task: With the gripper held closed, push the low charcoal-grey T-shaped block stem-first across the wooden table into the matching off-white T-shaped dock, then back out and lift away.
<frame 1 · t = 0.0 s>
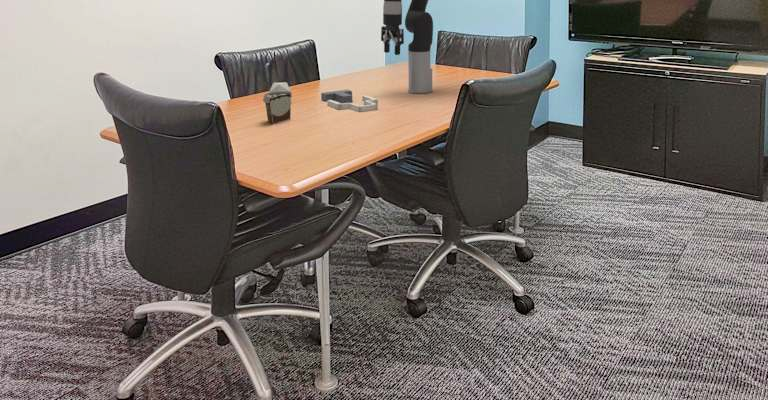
hand: (391, 53, 309), 17 cm above the table, tool pointing down, fingers open, 8 cm apart
t dock: (353, 105, 297), on the table
t block: (336, 99, 309), on the table
grey rounded block: (281, 103, 304), on the table
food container: (275, 121, 274), on the table
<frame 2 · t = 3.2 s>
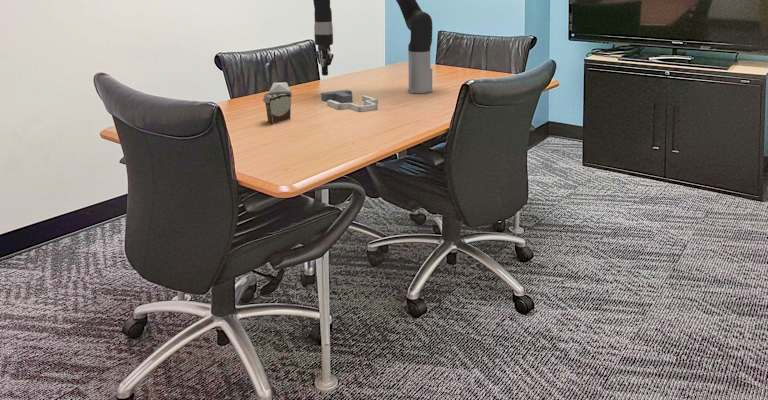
hand: (324, 75, 315), 8 cm above the table, tool pointing down, fingers closed
nothing on the table moved.
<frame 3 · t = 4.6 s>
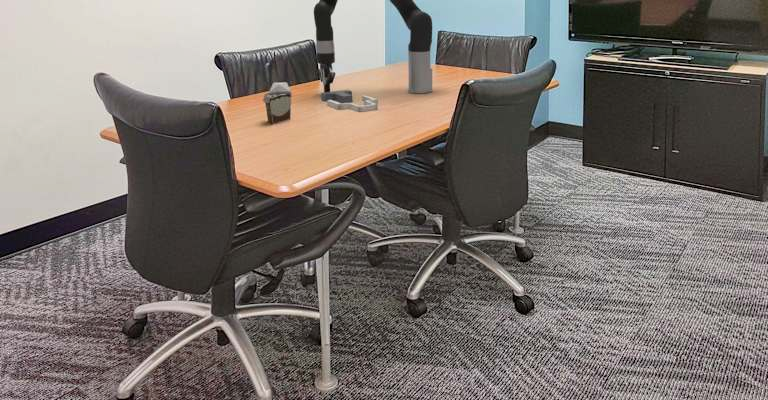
hand: (327, 93, 317), 1 cm above the table, tool pointing down, fingers closed
nothing on the table moved.
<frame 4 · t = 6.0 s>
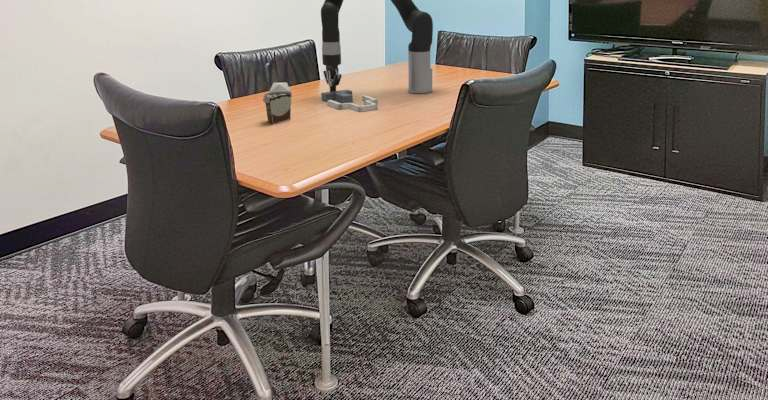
hand: (333, 95, 312), 1 cm above the table, tool pointing down, fingers closed
t block: (337, 99, 309), on the table, touching gripper
everything else where it was.
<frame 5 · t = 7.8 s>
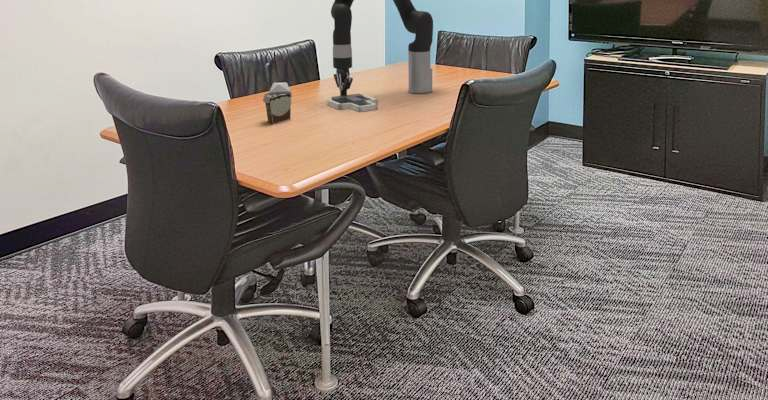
hand: (343, 99, 303), 1 cm above the table, tool pointing down, fingers closed
t block: (347, 103, 301), on the table, touching gripper
everything else where it was.
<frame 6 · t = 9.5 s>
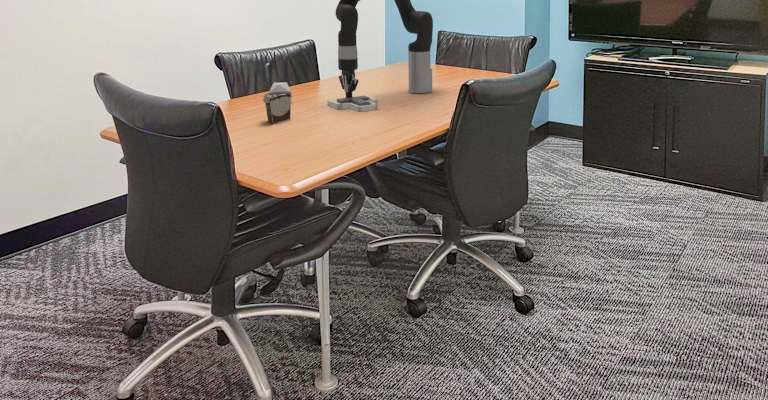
hand: (349, 101, 300), 1 cm above the table, tool pointing down, fingers closed
t block: (353, 105, 297), on the table, touching gripper
everything else where it was.
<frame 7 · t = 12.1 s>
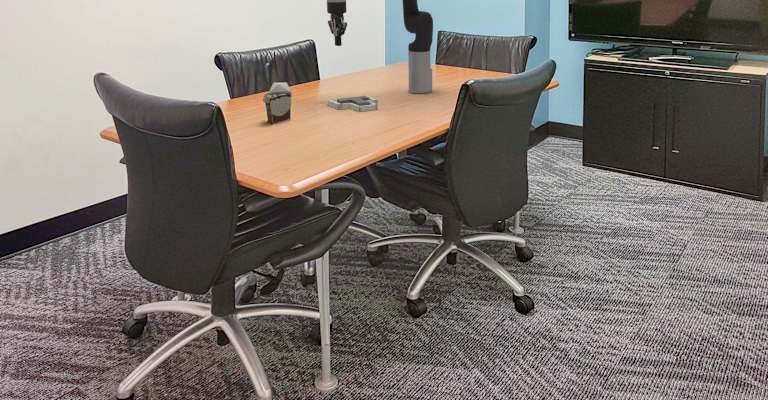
hand: (338, 45, 300), 22 cm above the table, tool pointing down, fingers closed
t block: (353, 105, 297), on the table
everything else where it was.
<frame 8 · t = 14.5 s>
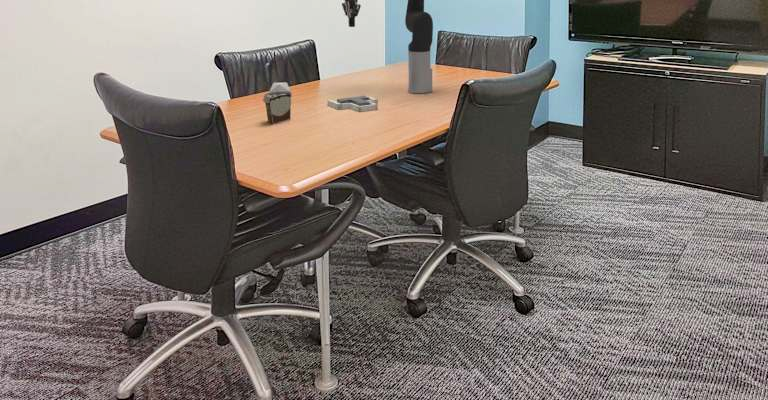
hand: (351, 26, 317), 27 cm above the table, tool pointing down, fingers closed
nothing on the table moved.
at the end: t block 0.3 cm off-centre on the t dock, point 0.0 cm above the t dock's base; t block tilted 0°; the gripper is holding nothing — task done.
